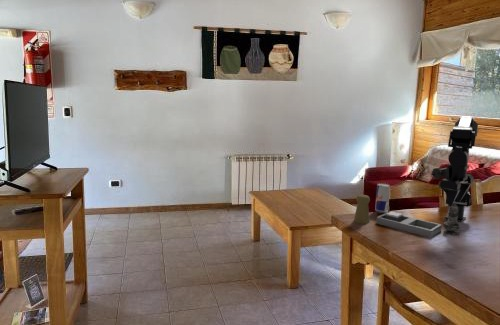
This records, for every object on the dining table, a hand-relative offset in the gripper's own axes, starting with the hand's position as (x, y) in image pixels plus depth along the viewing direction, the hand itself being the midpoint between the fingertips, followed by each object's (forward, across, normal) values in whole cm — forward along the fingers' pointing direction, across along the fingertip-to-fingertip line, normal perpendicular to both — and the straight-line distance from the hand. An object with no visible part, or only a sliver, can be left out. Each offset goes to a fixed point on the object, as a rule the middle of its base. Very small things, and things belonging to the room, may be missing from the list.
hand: (454, 203), depth 153 cm
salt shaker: (+12, 0, 0) cm, 12 cm away
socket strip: (+11, +6, -14) cm, 19 cm away
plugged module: (+11, +6, -20) cm, 23 cm away
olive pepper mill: (+12, +13, -30) cm, 35 cm away
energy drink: (+12, -6, -31) cm, 34 cm away
